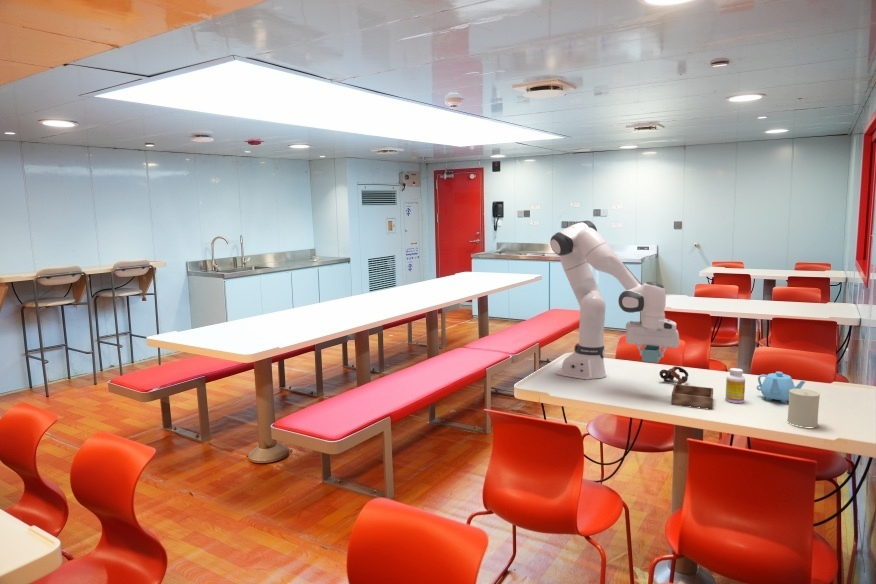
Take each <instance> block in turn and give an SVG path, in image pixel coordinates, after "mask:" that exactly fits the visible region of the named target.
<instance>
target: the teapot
mask: <svg viewBox="0 0 876 584" xmlns="http://www.w3.org/2000/svg"><path fill="white" fill-rule="evenodd" d="M762 377H765V378H764V379H763V381H762V382H761V378H762ZM757 381H758V384H759V385H757V386H756V389H757V391H759V392H760V391H761V395H762V396H763V397H764V398H765V399H764V400H765V401H766V400H768V402H770V401H771V402H772V400H777V401H780V404H784V403H787V404H788V402H789V390H790V389H802V387H803V386H804V384H806V381H805V380H800V382H798V384H797V385H795V384H794V380H793V378H792V376H790V375H789V374H786V373H783V371H775V373H774V372H772V373H768V374H763V373H762V374H760V375H759V376H758V377H757Z"/></svg>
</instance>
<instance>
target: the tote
mask: <svg viewBox="0 0 876 584" xmlns="http://www.w3.org/2000/svg"><path fill="white" fill-rule="evenodd" d="M660 352H662V346H650V345H644V346H643V348H642V355H641V357H642V358H641V362H642V363H649V364H659V362H660V360H661V358H662V357H659V353H660Z"/></svg>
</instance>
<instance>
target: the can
mask: <svg viewBox="0 0 876 584" xmlns="http://www.w3.org/2000/svg"><path fill="white" fill-rule="evenodd" d="M820 395H821V394H820V393H819V392H818V391H815V390H813V389H807V388H806V389H805V388H801V389H790V390H789V400H788V408H787V409H788V410H787V419H786V422H787V421H788V422H789V423H791V424H794V425H798V426H802V427H817V426H819V425H818V422H819V407H820ZM817 428H818V427H817Z"/></svg>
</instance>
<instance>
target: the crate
mask: <svg viewBox="0 0 876 584" xmlns="http://www.w3.org/2000/svg"><path fill="white" fill-rule="evenodd" d="M713 400H714V387H704V386H696V385H687V384H681V385H679V384H677V383H676V384H674V385H673V389H672V391H671V400H670V401H671V402H670V403H671V404H670V405H672V406H679V405H681V407H687V406H691V407H690V408H695V407H700V408H699V409H703V408H708V409H707V410H711V409H712V410H713V402H714V401H713Z"/></svg>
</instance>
